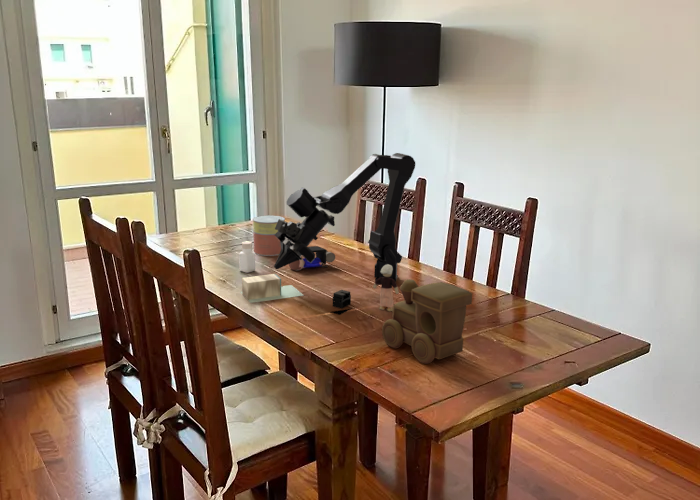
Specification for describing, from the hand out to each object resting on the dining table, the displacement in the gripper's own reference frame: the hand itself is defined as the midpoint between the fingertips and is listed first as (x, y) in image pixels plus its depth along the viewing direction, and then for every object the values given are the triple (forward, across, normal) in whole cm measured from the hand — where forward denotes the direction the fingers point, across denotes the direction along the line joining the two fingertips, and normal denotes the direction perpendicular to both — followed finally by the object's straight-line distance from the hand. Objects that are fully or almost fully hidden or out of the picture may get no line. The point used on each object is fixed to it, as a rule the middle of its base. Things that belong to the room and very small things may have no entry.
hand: (275, 268), depth 188 cm
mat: (+6, 0, +5) cm, 8 cm away
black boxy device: (-3, +17, +16) cm, 23 cm away
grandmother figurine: (-11, +23, +23) cm, 34 cm away
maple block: (+3, 0, +4) cm, 5 cm away
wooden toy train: (-7, +51, +19) cm, 54 cm away
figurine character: (-8, -20, +20) cm, 30 cm away
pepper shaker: (+6, -25, +6) cm, 27 cm away
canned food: (-4, -44, +16) cm, 47 cm away
